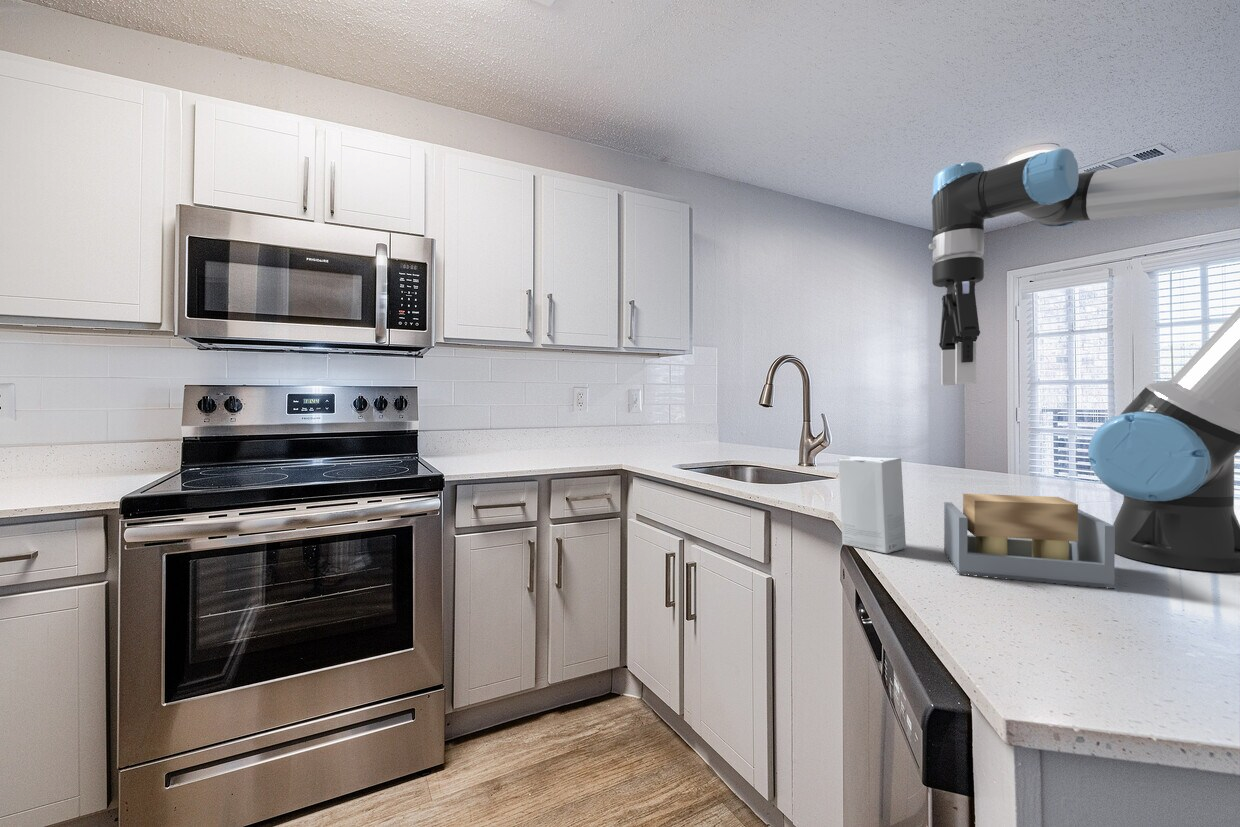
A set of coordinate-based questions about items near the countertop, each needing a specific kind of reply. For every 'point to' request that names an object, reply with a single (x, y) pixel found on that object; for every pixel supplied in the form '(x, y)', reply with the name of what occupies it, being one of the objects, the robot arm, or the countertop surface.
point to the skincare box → (872, 503)
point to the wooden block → (1021, 517)
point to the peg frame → (1034, 553)
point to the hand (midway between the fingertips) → (957, 384)
